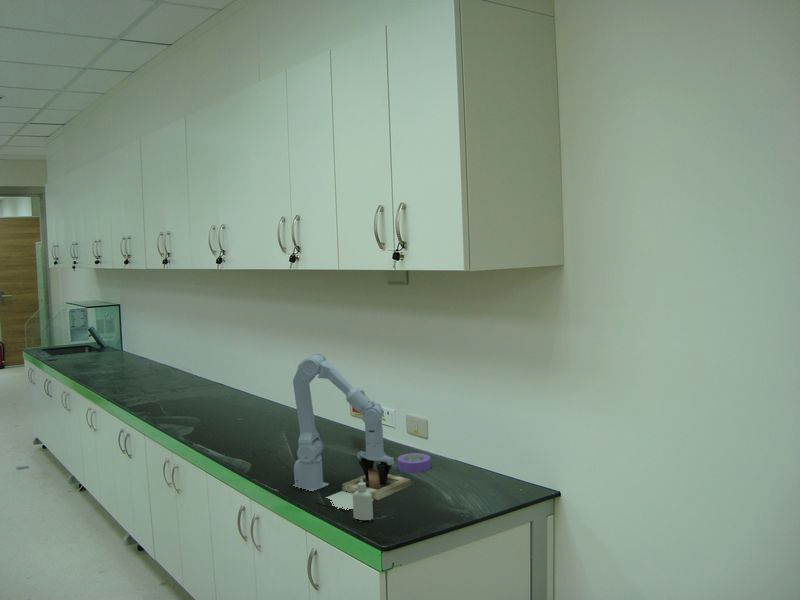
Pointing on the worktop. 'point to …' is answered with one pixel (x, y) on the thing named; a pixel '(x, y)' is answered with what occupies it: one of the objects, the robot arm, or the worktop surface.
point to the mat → (342, 500)
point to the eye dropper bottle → (362, 503)
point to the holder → (394, 486)
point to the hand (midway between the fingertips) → (376, 482)
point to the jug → (374, 479)
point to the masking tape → (414, 462)
